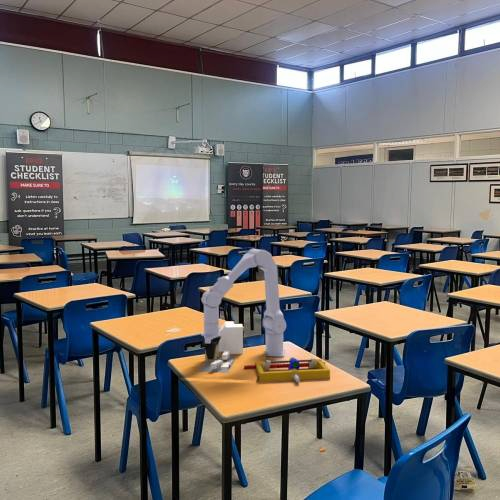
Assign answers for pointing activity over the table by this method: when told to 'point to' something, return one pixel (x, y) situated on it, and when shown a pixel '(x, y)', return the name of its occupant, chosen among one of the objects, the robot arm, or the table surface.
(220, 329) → the corner bracket
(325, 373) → the mechanical clamp
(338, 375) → the table surface
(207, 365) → the shaft stand
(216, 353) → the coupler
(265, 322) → the robot arm
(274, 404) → the table surface
